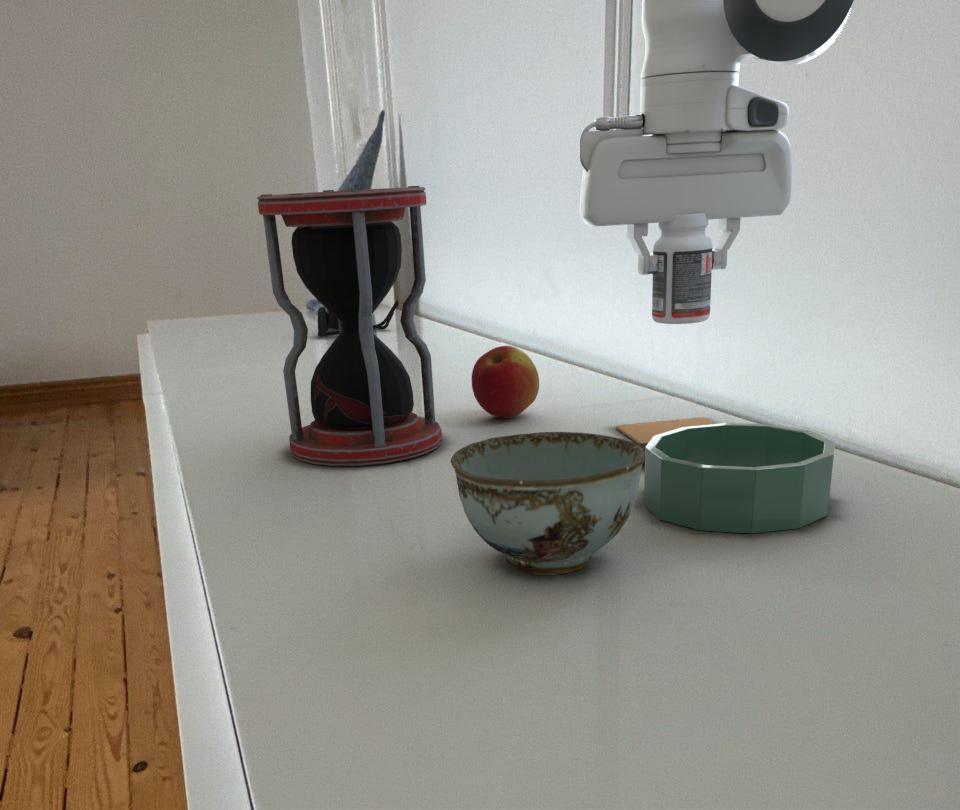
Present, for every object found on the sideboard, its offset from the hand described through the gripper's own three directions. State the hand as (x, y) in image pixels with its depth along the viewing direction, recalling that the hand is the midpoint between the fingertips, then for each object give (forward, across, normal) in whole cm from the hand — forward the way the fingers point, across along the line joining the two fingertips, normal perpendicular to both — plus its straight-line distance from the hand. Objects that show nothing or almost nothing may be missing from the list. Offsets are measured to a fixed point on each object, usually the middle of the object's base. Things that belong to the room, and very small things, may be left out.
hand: (682, 271), depth 98 cm
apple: (+16, -15, +15) cm, 27 cm away
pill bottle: (+5, 0, 0) cm, 5 cm away
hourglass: (+16, -32, +7) cm, 37 cm away
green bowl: (+16, -4, -24) cm, 29 cm away
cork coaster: (+16, 0, 0) cm, 16 cm away
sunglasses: (+16, -25, +96) cm, 101 cm away
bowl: (+16, -22, -32) cm, 42 cm away
